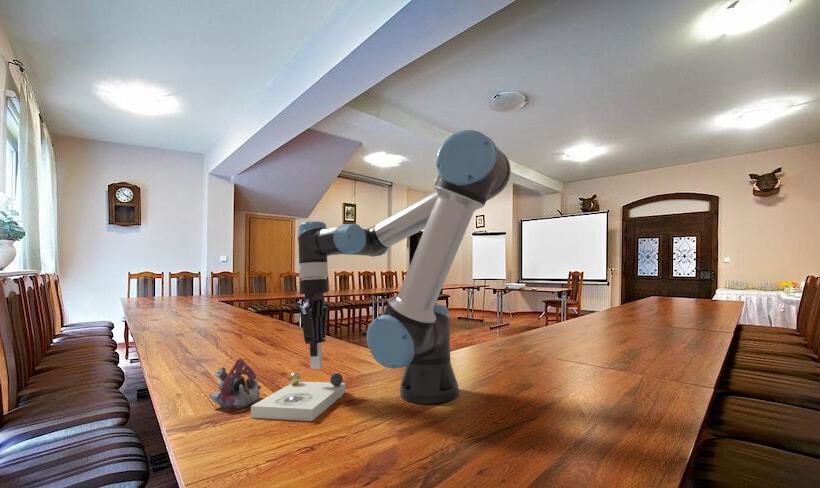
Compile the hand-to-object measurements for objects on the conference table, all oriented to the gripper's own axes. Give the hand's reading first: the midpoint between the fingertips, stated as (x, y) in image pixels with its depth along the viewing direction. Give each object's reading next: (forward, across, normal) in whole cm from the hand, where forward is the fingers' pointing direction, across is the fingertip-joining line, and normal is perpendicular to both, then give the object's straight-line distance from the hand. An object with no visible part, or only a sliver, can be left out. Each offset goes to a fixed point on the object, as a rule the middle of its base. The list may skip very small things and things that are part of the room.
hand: (316, 368), depth 95 cm
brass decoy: (+3, -1, -7) cm, 7 cm away
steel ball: (+6, +10, -1) cm, 12 cm away
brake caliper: (+7, +7, -18) cm, 21 cm away
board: (+7, +6, -1) cm, 9 cm away
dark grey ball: (+3, -1, +5) cm, 6 cm away
